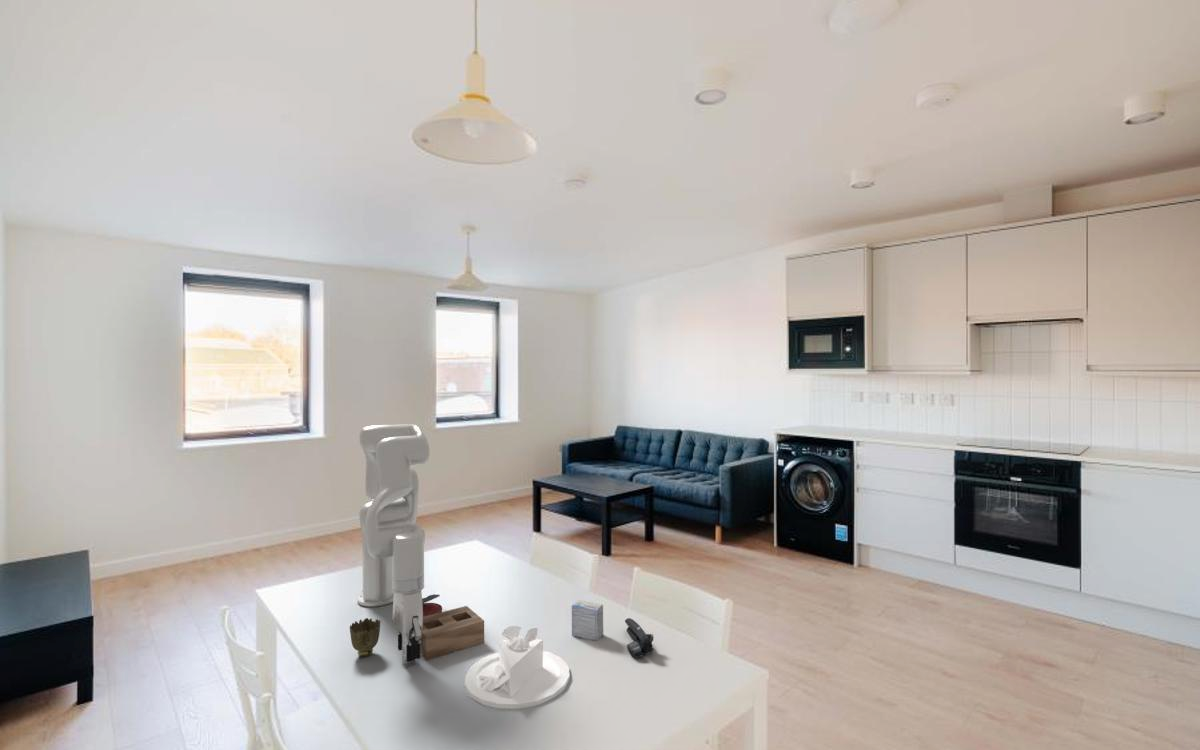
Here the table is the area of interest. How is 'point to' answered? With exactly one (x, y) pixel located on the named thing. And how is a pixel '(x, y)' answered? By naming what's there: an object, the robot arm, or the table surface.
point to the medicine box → (587, 620)
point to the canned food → (431, 606)
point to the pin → (404, 643)
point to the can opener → (638, 639)
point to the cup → (365, 636)
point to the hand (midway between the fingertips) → (408, 653)
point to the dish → (517, 673)
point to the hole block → (450, 632)
